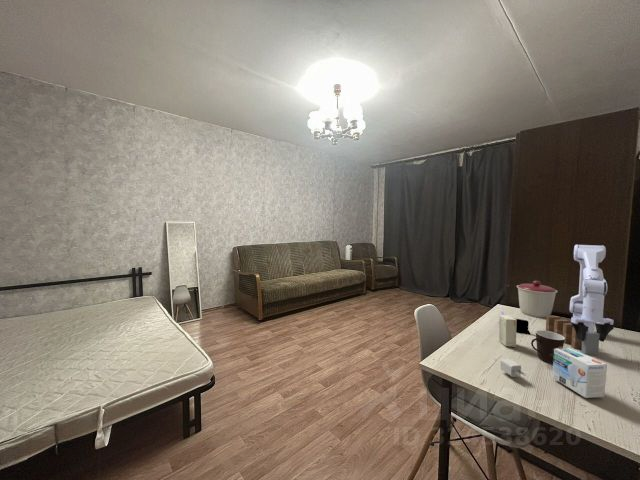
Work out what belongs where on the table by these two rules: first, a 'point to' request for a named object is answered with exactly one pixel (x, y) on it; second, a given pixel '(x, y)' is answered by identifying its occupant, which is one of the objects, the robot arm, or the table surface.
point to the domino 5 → (590, 343)
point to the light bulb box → (579, 372)
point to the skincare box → (507, 330)
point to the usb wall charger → (511, 367)
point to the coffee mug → (547, 344)
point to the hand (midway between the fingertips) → (590, 340)
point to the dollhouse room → (521, 326)
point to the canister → (536, 299)
